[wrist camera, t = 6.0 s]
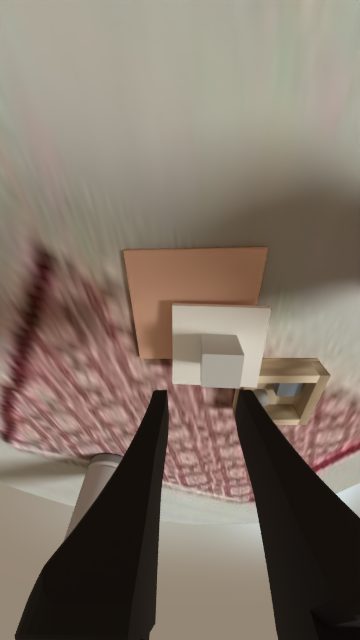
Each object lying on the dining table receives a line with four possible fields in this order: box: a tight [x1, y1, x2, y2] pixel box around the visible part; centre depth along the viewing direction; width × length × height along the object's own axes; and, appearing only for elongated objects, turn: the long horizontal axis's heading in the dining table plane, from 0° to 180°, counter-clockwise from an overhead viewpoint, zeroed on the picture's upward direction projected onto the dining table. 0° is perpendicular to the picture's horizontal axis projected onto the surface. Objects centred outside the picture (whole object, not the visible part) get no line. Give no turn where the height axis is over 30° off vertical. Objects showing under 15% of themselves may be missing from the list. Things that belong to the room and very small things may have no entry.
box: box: [232, 358, 331, 425], centre depth 24 cm, size 8×8×2 cm
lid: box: [172, 303, 272, 389], centre depth 18 cm, size 8×8×5 cm
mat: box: [123, 247, 268, 359], centre depth 20 cm, size 11×11×1 cm
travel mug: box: [64, 453, 123, 541], centre depth 26 cm, size 6×7×20 cm
